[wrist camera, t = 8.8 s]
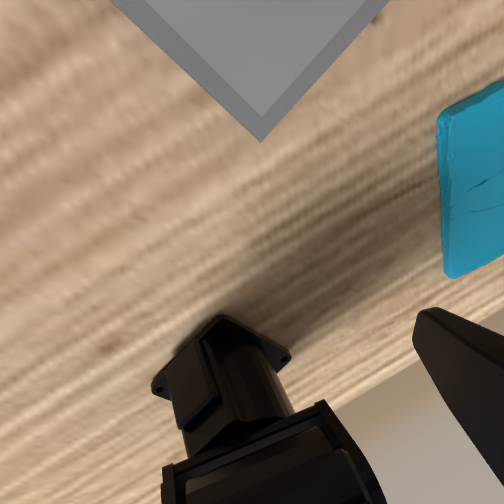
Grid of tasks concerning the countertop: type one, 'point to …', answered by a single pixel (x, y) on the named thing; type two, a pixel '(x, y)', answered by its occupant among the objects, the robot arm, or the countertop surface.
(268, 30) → the slate trivet
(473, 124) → the sponge
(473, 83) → the countertop surface
